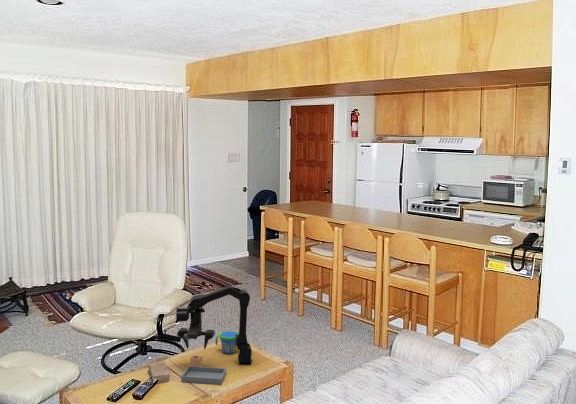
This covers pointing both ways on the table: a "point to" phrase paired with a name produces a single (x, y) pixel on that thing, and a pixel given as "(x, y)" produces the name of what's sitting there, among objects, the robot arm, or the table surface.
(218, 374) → the tray
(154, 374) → the brick
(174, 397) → the table surface
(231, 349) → the snack cup
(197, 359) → the bored block
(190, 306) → the robot arm
